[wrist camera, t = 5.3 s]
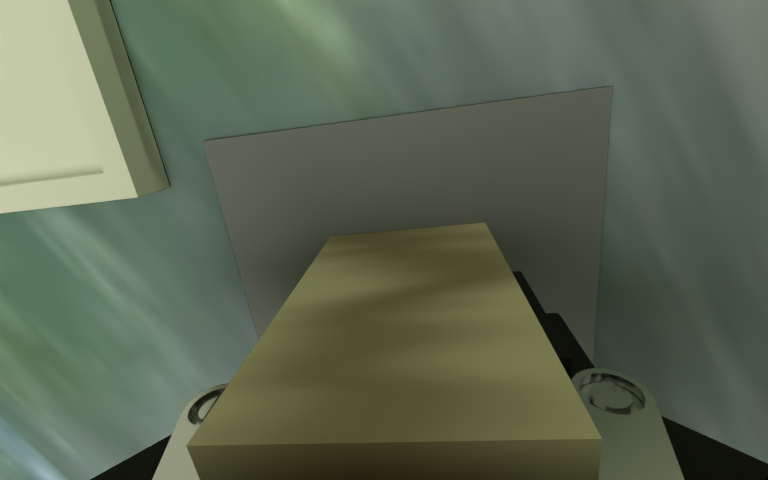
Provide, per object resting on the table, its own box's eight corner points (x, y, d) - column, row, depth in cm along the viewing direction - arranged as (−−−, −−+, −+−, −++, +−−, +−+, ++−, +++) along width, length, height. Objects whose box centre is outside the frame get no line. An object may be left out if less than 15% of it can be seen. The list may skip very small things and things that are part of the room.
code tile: (609, 86, 10) (613, 85, 10) (586, 423, 14) (589, 428, 14) (205, 140, 12) (201, 141, 12) (287, 429, 16) (285, 434, 15)
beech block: (484, 222, 12) (602, 439, 4) (490, 355, 13) (581, 683, 6) (330, 236, 12) (185, 445, 5) (353, 361, 14) (274, 663, 6)
